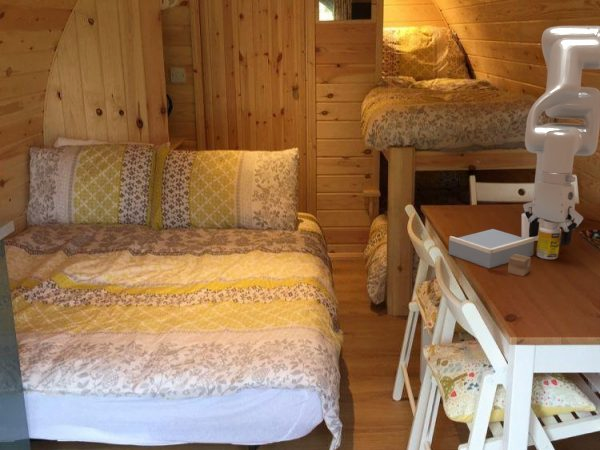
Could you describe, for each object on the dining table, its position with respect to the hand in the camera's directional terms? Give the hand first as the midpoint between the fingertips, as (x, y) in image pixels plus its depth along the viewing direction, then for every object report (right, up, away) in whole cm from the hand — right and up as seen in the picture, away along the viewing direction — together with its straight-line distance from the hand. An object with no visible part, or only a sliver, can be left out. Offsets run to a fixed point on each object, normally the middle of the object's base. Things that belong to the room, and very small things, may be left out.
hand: (548, 240), depth 172 cm
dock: (-14, -4, +4) cm, 16 cm away
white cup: (+2, 0, +18) cm, 18 cm away
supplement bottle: (0, -5, +2) cm, 5 cm away
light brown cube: (-11, -8, -9) cm, 16 cm away
